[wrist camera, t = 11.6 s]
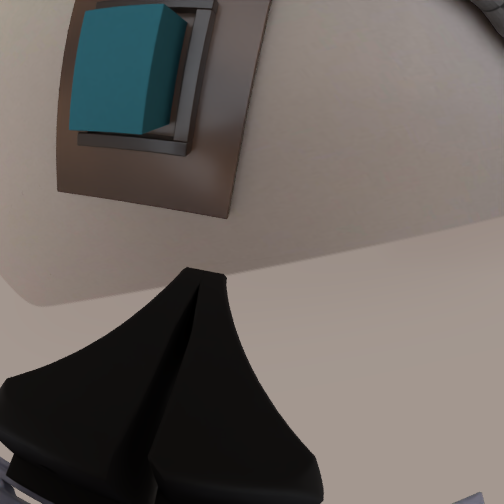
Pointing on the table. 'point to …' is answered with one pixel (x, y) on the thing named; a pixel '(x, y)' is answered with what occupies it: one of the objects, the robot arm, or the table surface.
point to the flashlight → (493, 12)
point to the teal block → (126, 69)
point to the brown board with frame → (172, 115)
